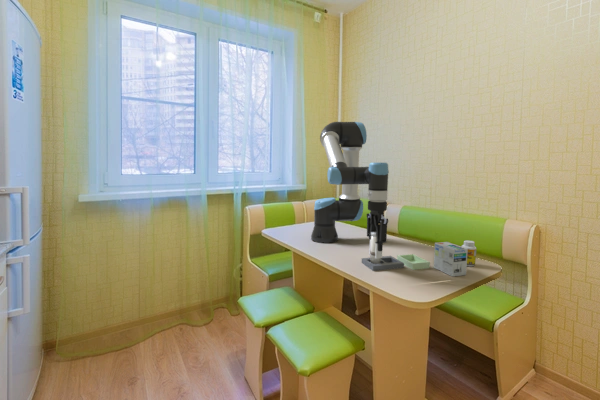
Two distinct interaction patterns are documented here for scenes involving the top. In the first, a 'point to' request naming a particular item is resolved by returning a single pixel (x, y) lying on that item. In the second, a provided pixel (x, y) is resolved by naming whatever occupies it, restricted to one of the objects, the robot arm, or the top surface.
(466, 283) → the top surface
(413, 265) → the parts tray
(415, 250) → the top surface
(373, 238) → the cylinder
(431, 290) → the top surface
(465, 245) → the supplement bottle
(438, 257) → the light bulb box
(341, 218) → the robot arm
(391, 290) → the top surface
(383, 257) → the fuse holder
